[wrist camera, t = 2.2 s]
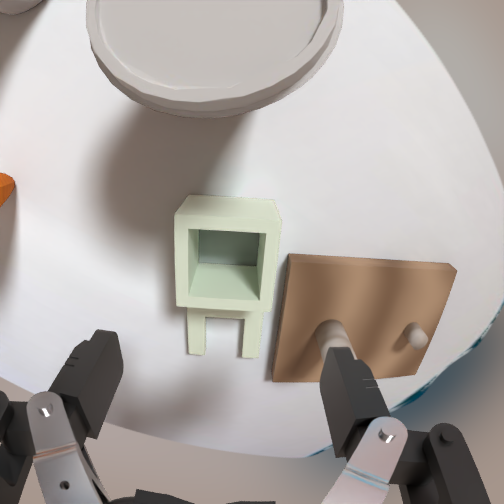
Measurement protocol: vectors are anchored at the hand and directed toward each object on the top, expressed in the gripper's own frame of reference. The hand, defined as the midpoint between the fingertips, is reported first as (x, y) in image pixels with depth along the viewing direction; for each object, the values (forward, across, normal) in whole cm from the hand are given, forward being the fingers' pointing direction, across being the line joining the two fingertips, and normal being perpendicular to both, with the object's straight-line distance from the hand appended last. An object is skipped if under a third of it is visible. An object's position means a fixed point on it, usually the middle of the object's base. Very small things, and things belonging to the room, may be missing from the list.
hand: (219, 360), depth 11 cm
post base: (+13, -12, +7) cm, 19 cm away
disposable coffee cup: (+13, +1, -13) cm, 19 cm away
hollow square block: (+13, 0, +4) cm, 14 cm away
